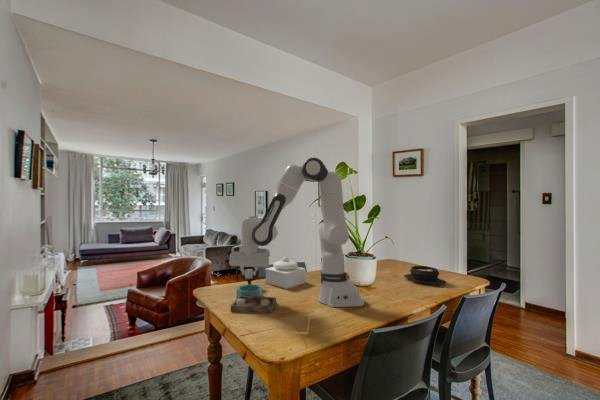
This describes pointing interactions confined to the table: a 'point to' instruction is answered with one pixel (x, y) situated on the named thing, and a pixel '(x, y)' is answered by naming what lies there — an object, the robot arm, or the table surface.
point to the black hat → (425, 275)
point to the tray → (254, 305)
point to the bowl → (249, 290)
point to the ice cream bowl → (253, 276)
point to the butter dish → (285, 274)
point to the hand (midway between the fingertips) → (249, 275)
